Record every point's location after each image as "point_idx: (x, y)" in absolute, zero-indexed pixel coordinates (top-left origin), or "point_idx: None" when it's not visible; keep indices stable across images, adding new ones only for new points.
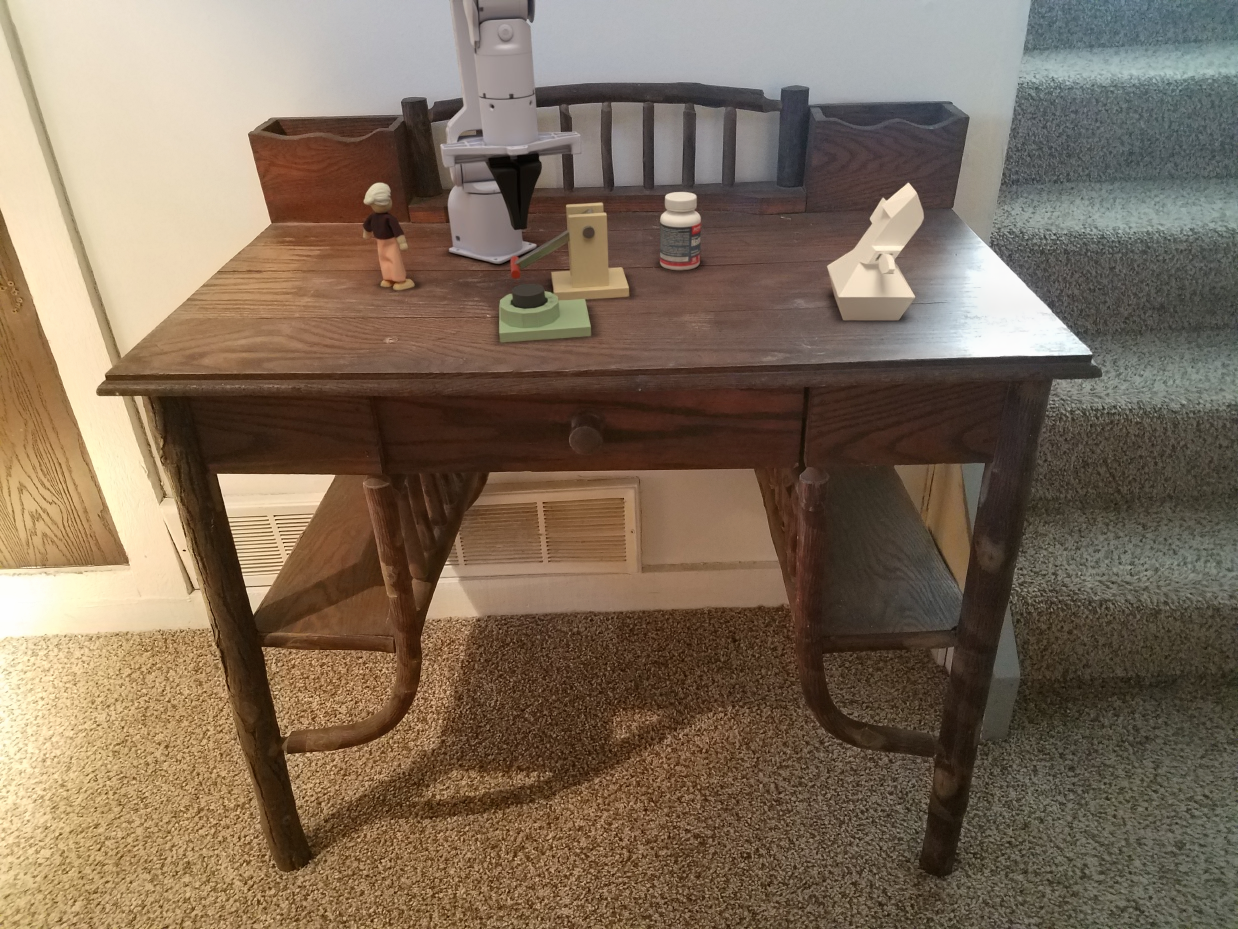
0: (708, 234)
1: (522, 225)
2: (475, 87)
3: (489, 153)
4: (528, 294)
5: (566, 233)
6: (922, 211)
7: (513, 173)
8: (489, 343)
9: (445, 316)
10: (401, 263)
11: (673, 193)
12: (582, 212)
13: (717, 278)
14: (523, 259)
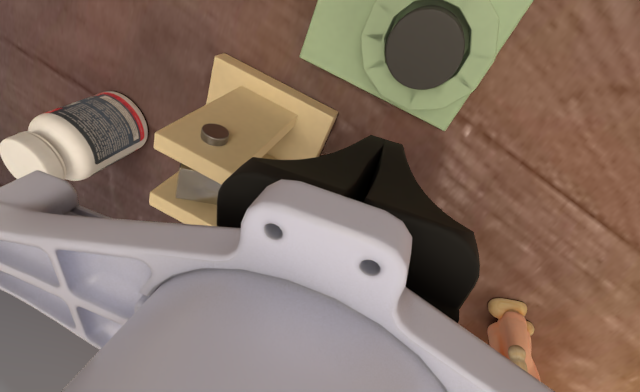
0: (73, 183)
1: (380, 139)
2: None
3: (501, 355)
4: (441, 18)
5: None
6: None
7: (383, 202)
8: (555, 3)
9: (532, 177)
10: (512, 336)
11: None
12: (197, 205)
13: (83, 36)
14: None
